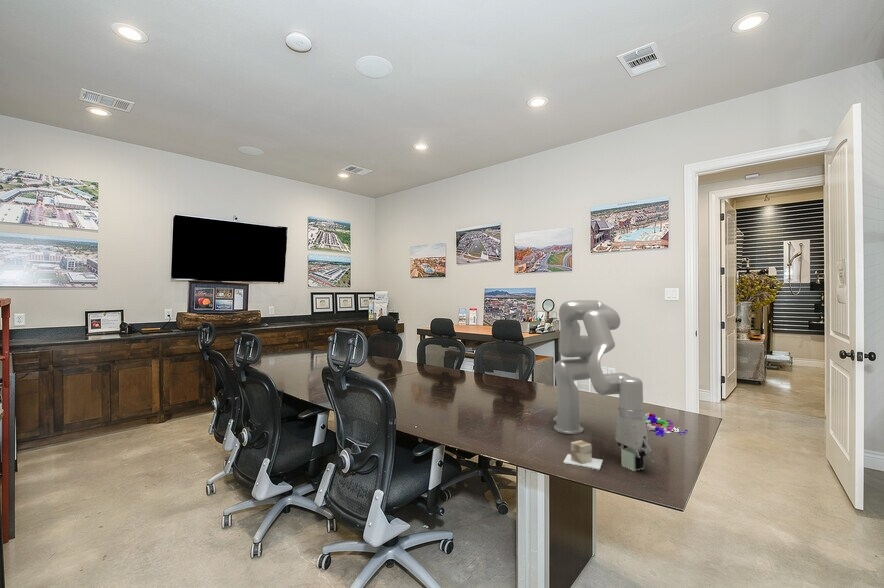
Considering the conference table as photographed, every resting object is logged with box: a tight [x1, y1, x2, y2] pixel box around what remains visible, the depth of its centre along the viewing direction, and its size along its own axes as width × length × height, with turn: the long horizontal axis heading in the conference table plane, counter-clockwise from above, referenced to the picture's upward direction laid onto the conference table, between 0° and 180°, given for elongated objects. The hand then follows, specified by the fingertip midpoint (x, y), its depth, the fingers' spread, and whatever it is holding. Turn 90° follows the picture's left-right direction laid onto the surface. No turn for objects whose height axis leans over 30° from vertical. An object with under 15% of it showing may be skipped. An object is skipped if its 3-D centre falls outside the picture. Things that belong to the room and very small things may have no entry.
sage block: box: [620, 447, 645, 472], centre depth 139 cm, size 5×5×6 cm
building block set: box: [643, 412, 688, 437], centre depth 180 cm, size 25×20×4 cm
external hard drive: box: [562, 453, 604, 471], centre depth 143 cm, size 2×8×12 cm
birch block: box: [570, 439, 593, 464], centre depth 144 cm, size 5×5×6 cm
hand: (632, 464), depth 139 cm, fingers closed on sage block, 5 cm apart
